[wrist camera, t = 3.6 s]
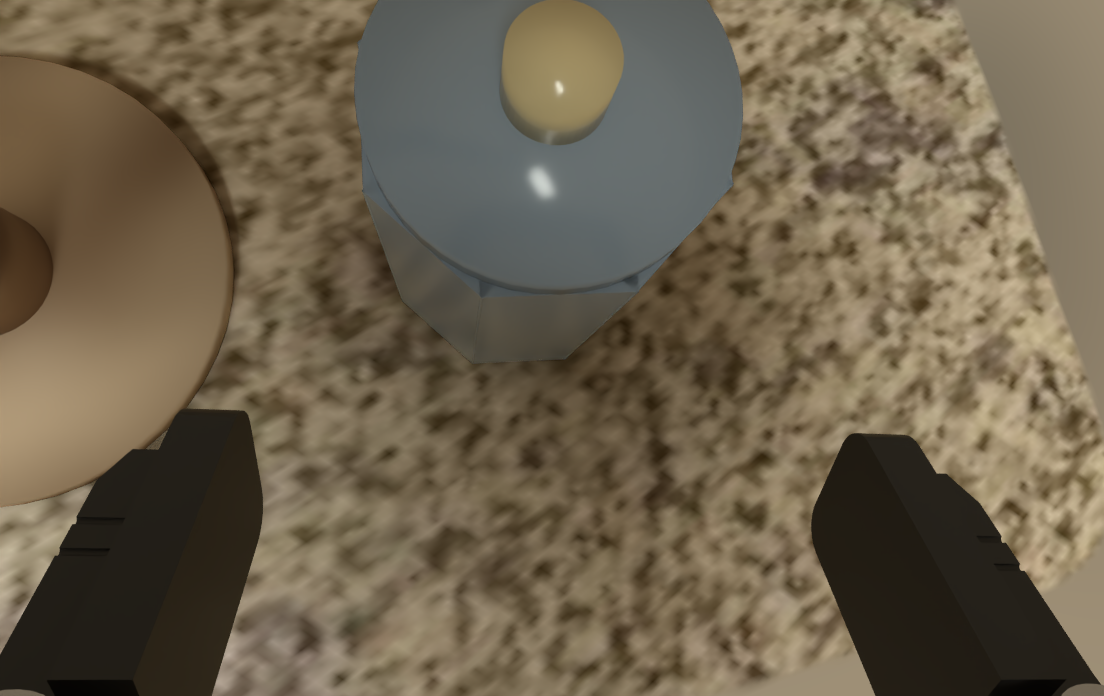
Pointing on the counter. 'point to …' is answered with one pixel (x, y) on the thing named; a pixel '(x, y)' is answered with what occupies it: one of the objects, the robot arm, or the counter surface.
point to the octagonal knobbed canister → (540, 157)
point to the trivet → (103, 278)
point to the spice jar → (21, 271)
